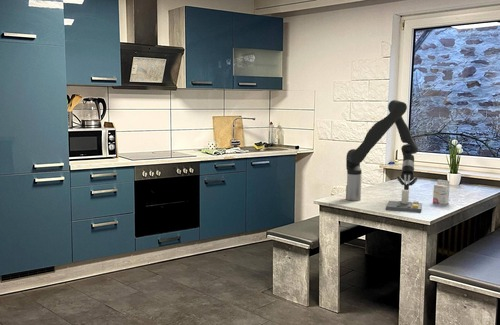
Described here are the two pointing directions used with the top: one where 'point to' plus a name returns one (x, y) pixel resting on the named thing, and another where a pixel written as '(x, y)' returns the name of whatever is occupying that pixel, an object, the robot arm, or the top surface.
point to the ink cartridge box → (441, 192)
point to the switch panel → (404, 206)
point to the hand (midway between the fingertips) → (406, 189)
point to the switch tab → (405, 196)
